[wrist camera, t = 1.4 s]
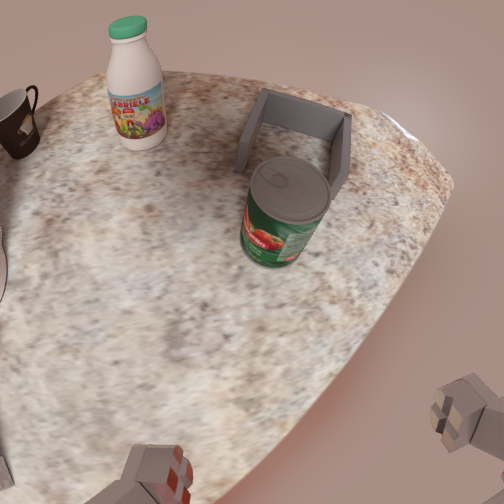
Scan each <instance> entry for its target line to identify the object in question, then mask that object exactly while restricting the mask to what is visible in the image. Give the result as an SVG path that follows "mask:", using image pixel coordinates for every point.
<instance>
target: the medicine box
mask: <svg viewBox="0 0 504 504" xmlns="http://www.w3.org/2000/svg"><path fill="white" fill-rule="evenodd" d="M13 486H14V483H13V481H12V479H11V476H10V474H9V471H8V469H7V466H6V464H5V461H4V458H3V456H0V491H3V490H5V489H8V488H10V487H13Z"/></svg>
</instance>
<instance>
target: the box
mask: <svg viewBox="0 0 504 504" xmlns="http://www.w3.org/2000/svg"><path fill="white" fill-rule="evenodd" d="M351 119H352V115H351V114H348V113H345V112H342V111H340V110H337V109H334V108H331V107H328V106H325V105H322V104H319V103H315V102H312V101H309V100H306V99H302V98H299V97H295V96H292V95H288V94H285V93H281V92H277V91H273V90H269V89H265V88H262V90H261V92H260V94H259V96H258V99H257V101H256V103H255V105H254V108H253V110H252V112H251V114H250V117H249V119H248V121H247V124H246V126H245V128H244V131H243V133H242V135H241V138H240V140H239V145H238V153H237V160H236V168H235V171H236V172H240V173H244V170H245V167H246V165H247V162H248V159H249V156H250V154H251V151H252V148H253V145H254V143H255V140H256V137H257V135H258V132H259V129H260V127H261V124H262V122H266V123H269V124H273V125H277V126H280V127H284V128H287V129H291V130H294V131H298V132H301V133H304V134H308V135H311V136H314V137H317V138H320V139H323V140H326V141H329V142H332V150H331V159H330V167H329V176H328V183H329V186H330V189H331V196H332V198H331V199H332V200H334V198H335V197H336V195H337V193H338V192H339V190H340V189H341V187H342V185H343V183H344V182H345V180H346V178H347V177H348V175H349V169H350V149H351Z"/></svg>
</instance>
